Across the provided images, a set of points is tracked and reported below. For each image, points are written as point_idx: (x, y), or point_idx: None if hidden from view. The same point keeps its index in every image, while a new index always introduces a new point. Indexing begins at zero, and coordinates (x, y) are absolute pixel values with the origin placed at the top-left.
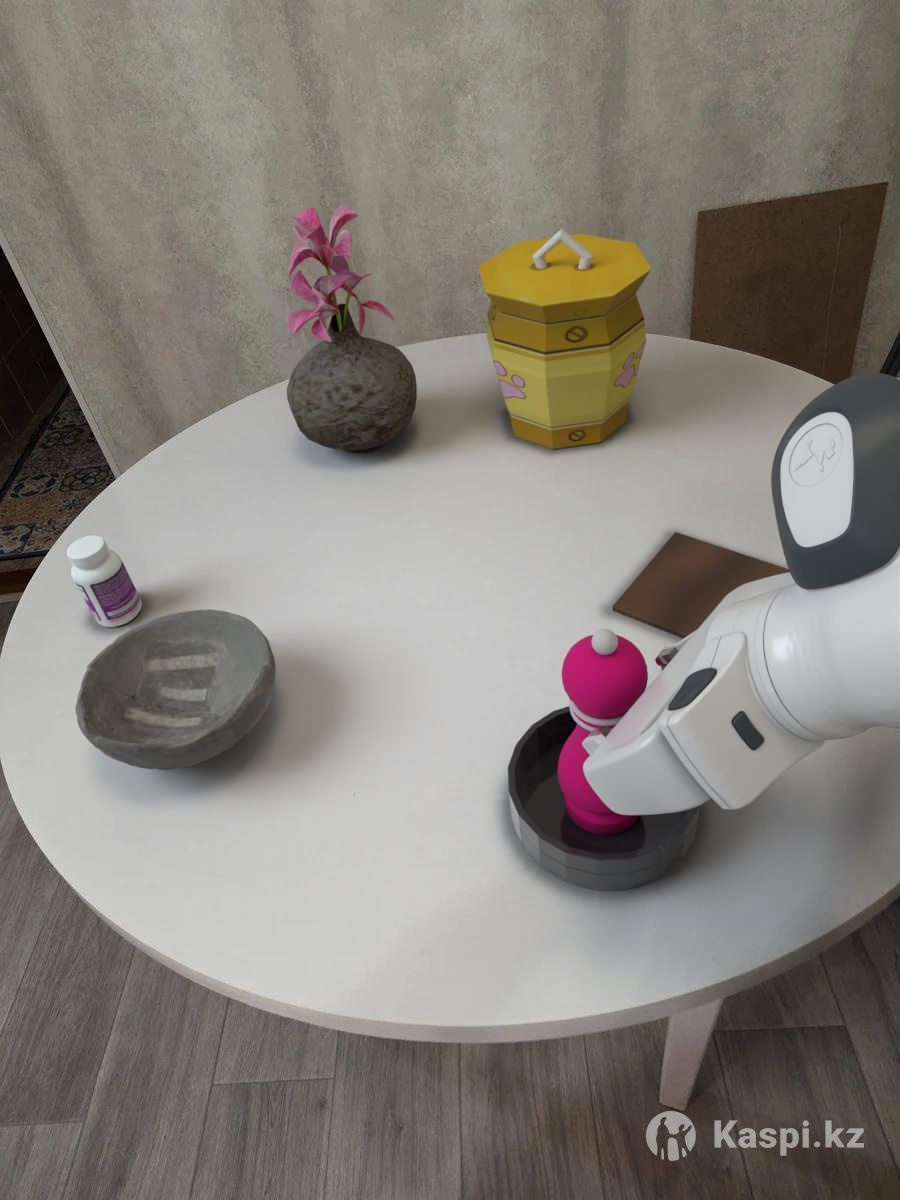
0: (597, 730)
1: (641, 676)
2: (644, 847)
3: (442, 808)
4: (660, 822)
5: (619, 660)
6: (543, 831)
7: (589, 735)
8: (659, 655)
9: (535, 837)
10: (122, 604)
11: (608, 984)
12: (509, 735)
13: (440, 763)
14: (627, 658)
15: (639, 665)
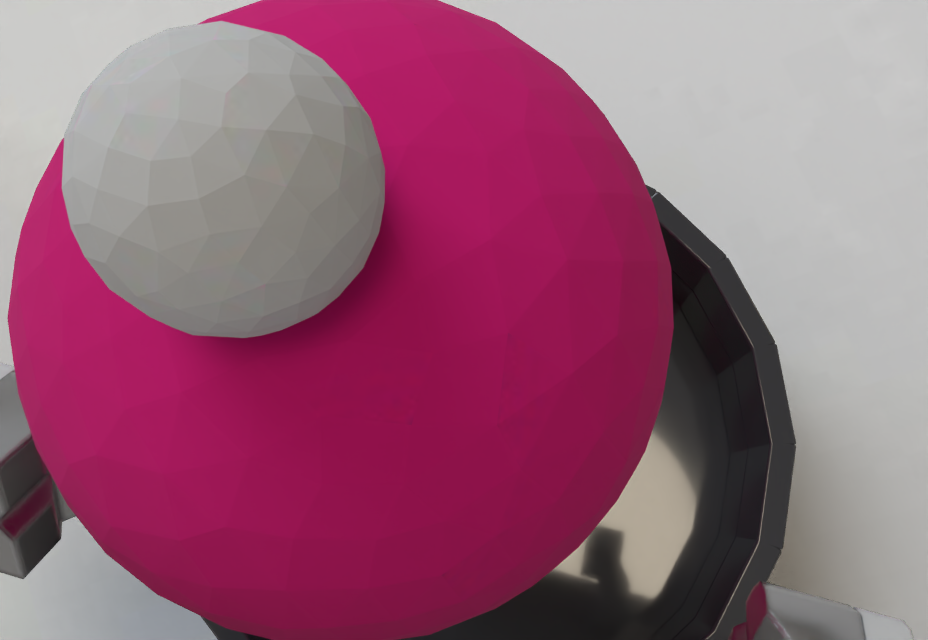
0: (6, 418)
1: (269, 628)
2: (246, 637)
3: None
4: (473, 619)
5: (190, 413)
6: None
7: (4, 382)
8: (786, 614)
9: None
10: None
11: (13, 611)
12: (611, 121)
13: (455, 3)
14: (259, 479)
15: (317, 594)
